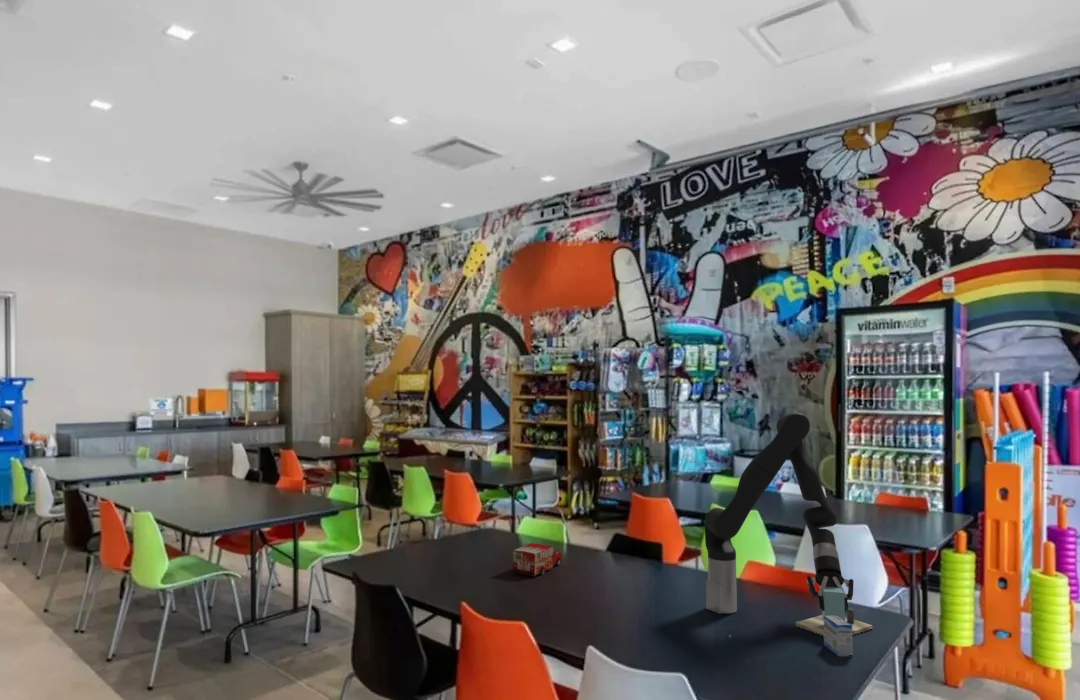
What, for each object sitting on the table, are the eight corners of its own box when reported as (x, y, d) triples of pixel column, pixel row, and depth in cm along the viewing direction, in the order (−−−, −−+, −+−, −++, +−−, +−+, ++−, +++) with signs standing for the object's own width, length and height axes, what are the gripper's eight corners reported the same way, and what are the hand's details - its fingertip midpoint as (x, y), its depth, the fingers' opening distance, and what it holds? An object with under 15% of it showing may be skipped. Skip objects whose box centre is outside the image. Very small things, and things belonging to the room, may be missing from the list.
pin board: (835, 640, 197) (835, 622, 197) (795, 626, 209) (795, 609, 209) (872, 629, 206) (871, 612, 206) (832, 615, 218) (831, 599, 218)
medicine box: (823, 645, 193) (822, 615, 193) (838, 645, 193) (837, 615, 194) (838, 657, 185) (837, 625, 186) (853, 656, 186) (852, 624, 186)
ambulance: (564, 564, 281) (564, 540, 281) (534, 579, 259) (534, 553, 260) (542, 561, 286) (542, 537, 287) (511, 575, 265) (511, 550, 266)
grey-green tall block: (845, 626, 201) (844, 592, 201) (825, 625, 202) (824, 591, 203) (841, 620, 206) (840, 587, 207) (822, 618, 208) (821, 586, 208)
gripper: (803, 553, 214) (810, 602, 202) (852, 555, 211) (861, 606, 198) (801, 565, 219) (807, 614, 207) (849, 568, 216) (858, 618, 203)
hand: (834, 610), depth 203 cm, fingers closed on grey-green tall block, 5 cm apart
